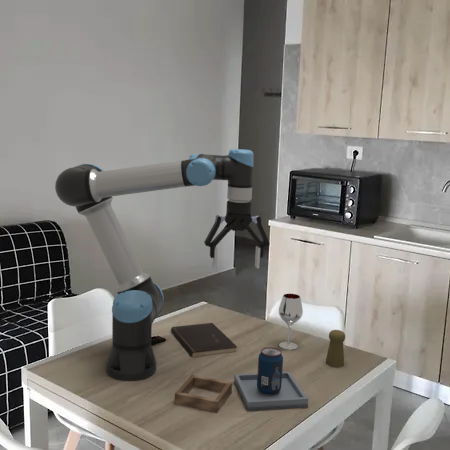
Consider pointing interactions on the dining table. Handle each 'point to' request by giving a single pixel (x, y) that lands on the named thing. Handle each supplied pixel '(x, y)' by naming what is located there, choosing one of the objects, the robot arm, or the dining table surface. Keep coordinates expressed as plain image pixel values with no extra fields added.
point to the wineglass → (290, 316)
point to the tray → (283, 399)
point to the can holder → (203, 402)
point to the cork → (336, 349)
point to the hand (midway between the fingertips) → (235, 267)
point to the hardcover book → (203, 339)
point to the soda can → (270, 371)
